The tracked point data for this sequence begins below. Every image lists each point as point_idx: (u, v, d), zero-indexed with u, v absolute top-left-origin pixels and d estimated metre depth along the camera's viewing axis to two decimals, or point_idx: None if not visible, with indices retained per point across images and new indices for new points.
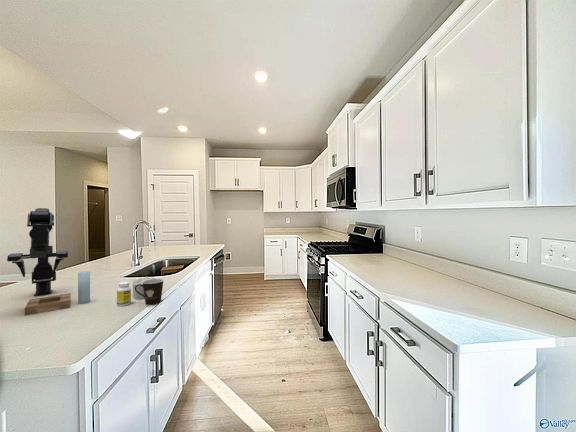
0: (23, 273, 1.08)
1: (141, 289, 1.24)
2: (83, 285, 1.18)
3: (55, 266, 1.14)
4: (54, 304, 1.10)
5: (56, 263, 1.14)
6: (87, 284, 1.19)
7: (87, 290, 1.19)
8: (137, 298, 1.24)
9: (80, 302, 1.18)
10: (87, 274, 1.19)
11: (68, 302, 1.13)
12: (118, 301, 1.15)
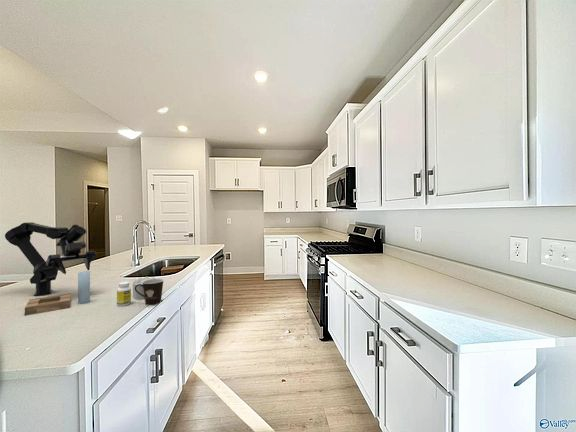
0: (64, 269, 1.20)
1: (141, 289, 1.24)
2: (83, 285, 1.18)
3: (88, 262, 1.29)
4: (54, 304, 1.10)
5: (88, 260, 1.30)
6: (87, 284, 1.19)
7: (87, 290, 1.19)
8: (137, 298, 1.24)
9: (80, 302, 1.18)
10: (87, 274, 1.19)
11: (68, 302, 1.13)
12: (118, 301, 1.15)
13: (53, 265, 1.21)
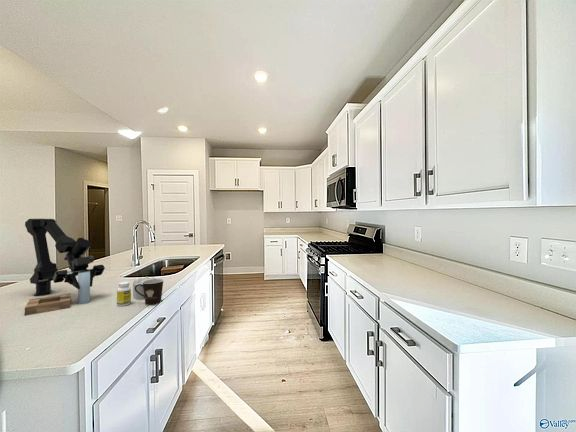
0: (78, 284, 1.17)
1: (141, 289, 1.24)
2: (83, 285, 1.18)
3: (91, 278, 1.23)
4: (54, 304, 1.10)
5: (91, 275, 1.23)
6: (87, 284, 1.19)
7: (87, 290, 1.19)
8: (137, 298, 1.24)
9: (80, 302, 1.18)
10: (87, 274, 1.19)
11: (68, 302, 1.13)
12: (118, 301, 1.15)
13: (66, 280, 1.18)
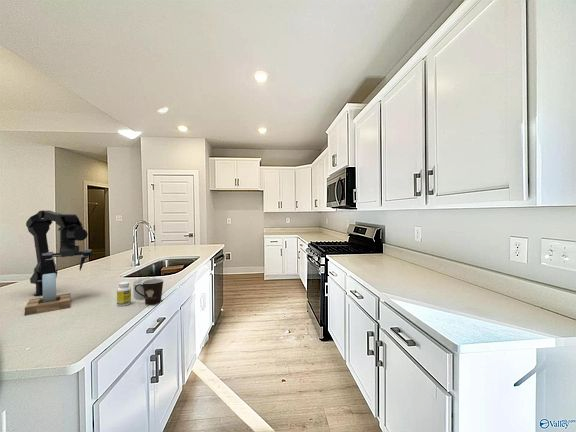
0: (54, 270, 1.22)
1: (141, 289, 1.24)
2: (48, 288, 1.12)
3: (81, 263, 1.28)
4: (54, 304, 1.10)
5: (82, 261, 1.28)
6: (52, 287, 1.13)
7: (52, 293, 1.13)
8: (138, 298, 1.24)
9: None
10: (52, 276, 1.13)
11: (68, 302, 1.13)
12: (118, 301, 1.15)
13: None
